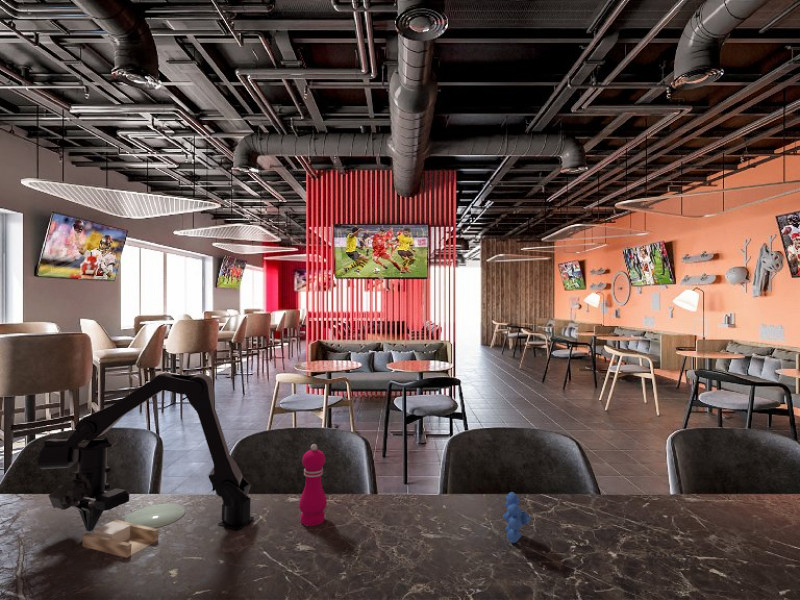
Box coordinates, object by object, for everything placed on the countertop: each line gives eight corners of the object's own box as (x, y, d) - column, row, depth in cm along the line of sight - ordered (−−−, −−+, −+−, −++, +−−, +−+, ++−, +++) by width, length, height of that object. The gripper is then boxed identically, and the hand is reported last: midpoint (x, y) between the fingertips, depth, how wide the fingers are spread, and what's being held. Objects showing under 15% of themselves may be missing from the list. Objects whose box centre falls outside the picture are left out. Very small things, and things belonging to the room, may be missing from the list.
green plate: (196, 510, 118) (196, 507, 118) (152, 534, 105) (152, 531, 105) (158, 503, 122) (158, 500, 122) (111, 525, 109) (111, 522, 109)
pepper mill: (320, 528, 109) (321, 449, 110) (293, 525, 110) (295, 447, 111) (330, 515, 116) (331, 441, 117) (305, 513, 117) (307, 439, 118)
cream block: (129, 538, 102) (130, 525, 102) (111, 547, 98) (112, 534, 98) (111, 534, 104) (112, 521, 104) (93, 543, 100) (93, 530, 100)
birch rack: (158, 541, 101) (158, 529, 102) (126, 559, 94) (127, 545, 94) (115, 531, 106) (115, 519, 106) (82, 547, 98) (82, 534, 99)
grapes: (535, 557, 96) (535, 503, 97) (504, 554, 97) (504, 501, 98) (528, 532, 108) (528, 483, 108) (500, 529, 109) (500, 482, 109)
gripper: (29, 472, 100) (26, 540, 99) (85, 482, 94) (82, 555, 93) (78, 457, 110) (76, 519, 109) (132, 466, 104) (129, 531, 103)
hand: (89, 530), depth 103 cm, fingers closed
